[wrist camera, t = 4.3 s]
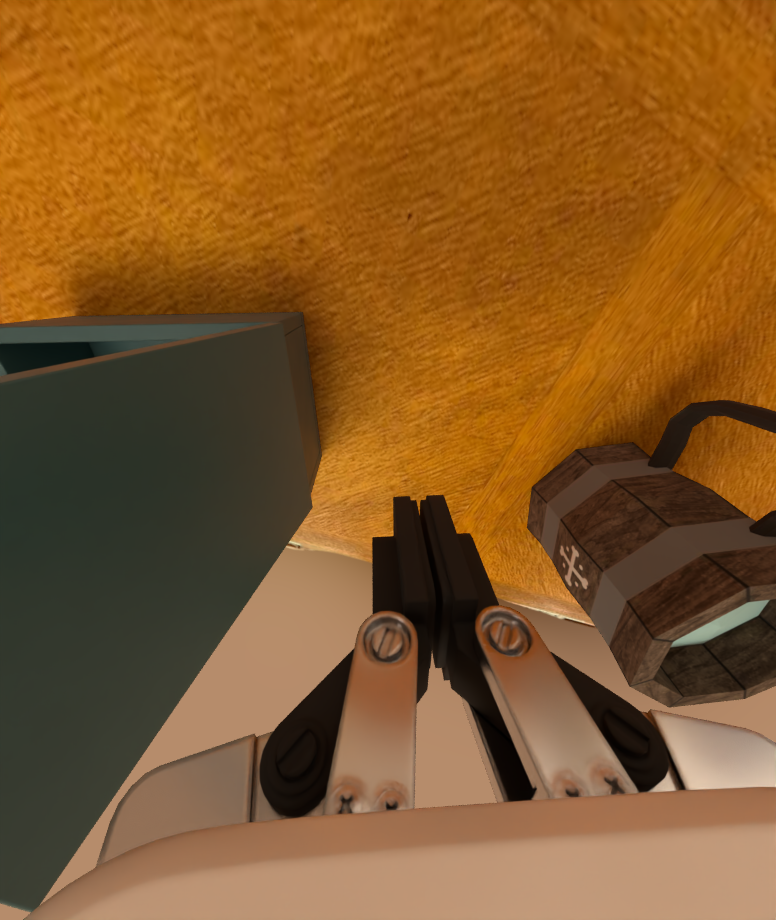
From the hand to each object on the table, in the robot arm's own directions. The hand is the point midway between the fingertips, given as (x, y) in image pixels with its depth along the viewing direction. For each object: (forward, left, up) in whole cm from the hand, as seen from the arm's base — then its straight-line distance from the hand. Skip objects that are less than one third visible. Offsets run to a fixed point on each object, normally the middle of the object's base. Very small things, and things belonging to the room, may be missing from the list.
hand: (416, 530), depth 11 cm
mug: (+21, -9, -17) cm, 28 cm away
